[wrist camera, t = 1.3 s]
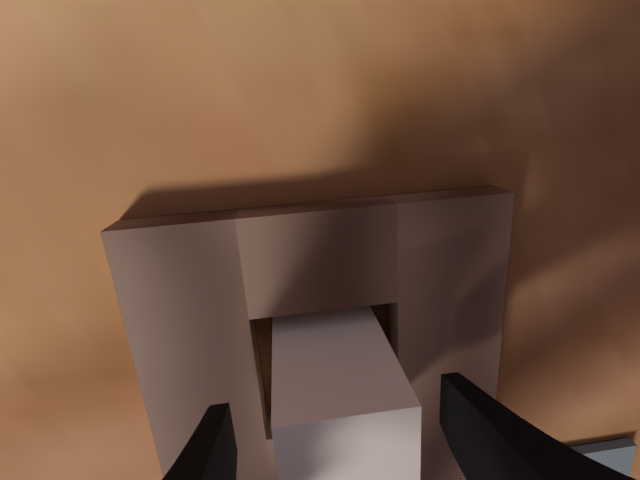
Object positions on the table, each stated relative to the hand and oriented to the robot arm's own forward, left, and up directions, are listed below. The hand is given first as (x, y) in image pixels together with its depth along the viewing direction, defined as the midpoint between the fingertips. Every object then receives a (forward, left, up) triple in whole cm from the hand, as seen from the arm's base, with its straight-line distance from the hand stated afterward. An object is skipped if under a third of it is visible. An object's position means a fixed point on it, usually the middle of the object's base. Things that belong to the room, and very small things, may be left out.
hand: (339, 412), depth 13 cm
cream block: (0, 0, -4) cm, 4 cm away
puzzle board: (0, 0, -4) cm, 4 cm away
